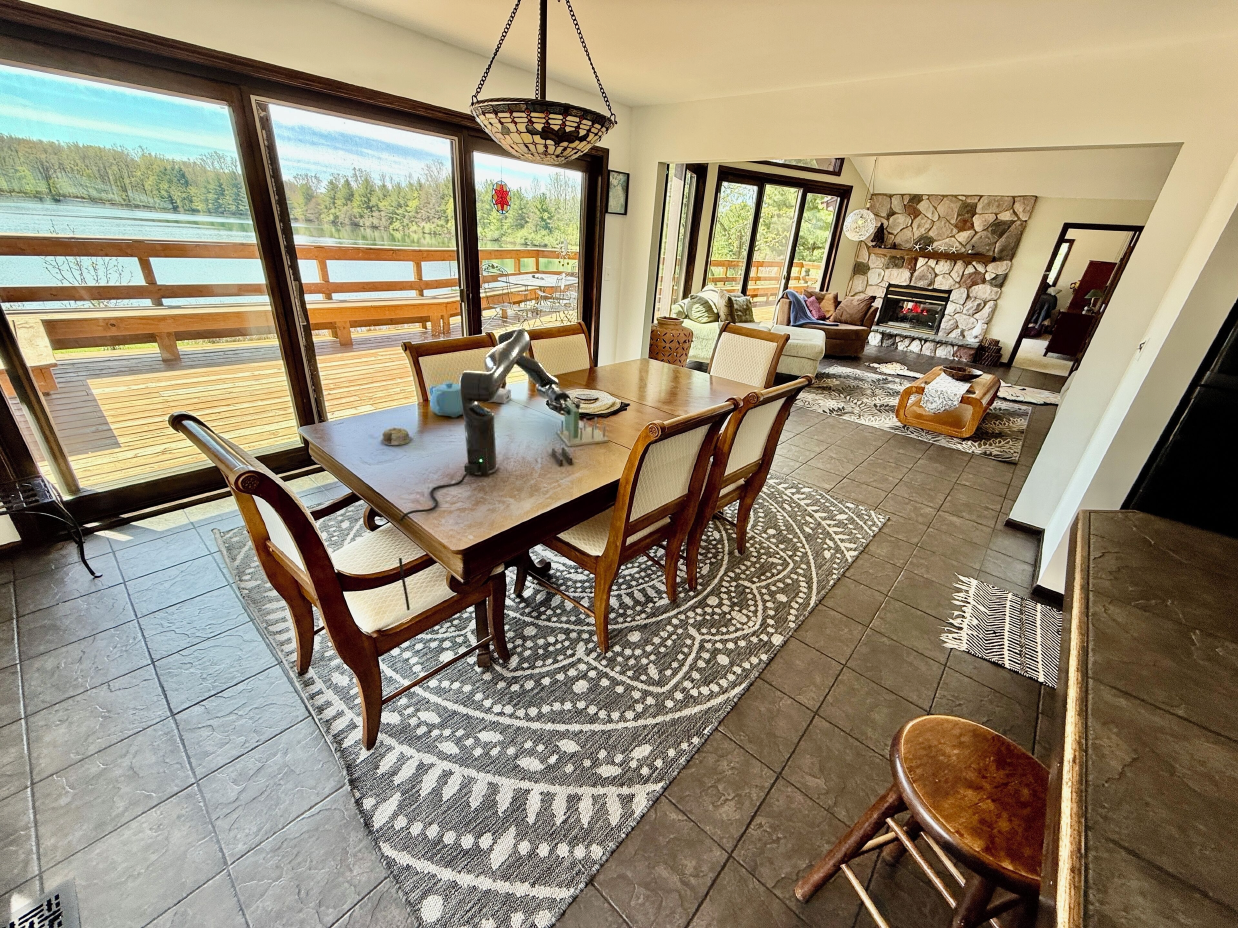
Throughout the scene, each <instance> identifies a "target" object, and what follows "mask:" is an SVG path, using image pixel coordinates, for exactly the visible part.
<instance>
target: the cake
mask: <svg viewBox="0 0 1238 928" xmlns="http://www.w3.org/2000/svg"><path fill="white" fill-rule="evenodd" d="M411 440H412V439H411V437H410V433H409V431H408V430H407V429H405V428H398V427H393V428H388V429H385V430H384V431H383V432H382V437H381V443H382V444H384V445H387V446H402V445H405V444H408V443H410V442H411Z"/></svg>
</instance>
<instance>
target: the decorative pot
mask: <svg viewBox="0 0 1238 928" xmlns="http://www.w3.org/2000/svg"><path fill="white" fill-rule="evenodd" d="M428 390H429V394H430V396H431V397H430V399H429V402H430V404H429V405H430V409H431V411H432V412H433V413H435V414H437V416H447V417H450V418H458V416H461V415H463V412H462V403H461V397H460V389H459V383H454V382H453V381H445V382H444V383H442V384H439V385H436V384H434V385H431V386H430V387H429V389H428Z"/></svg>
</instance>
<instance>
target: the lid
mask: <svg viewBox="0 0 1238 928" xmlns="http://www.w3.org/2000/svg"><path fill="white" fill-rule="evenodd" d="M565 405H566V407H568V408H569V409H570V415H568V414H566V413H565V412H564V430H566V431H567V432H568V430H569V429H571V436H572V437H573V439H575V438H578V435H579V429H580V409H579V410H578V409H576V408H575V407H574V406H573V405H572V404H571V403H570V402H565Z"/></svg>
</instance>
